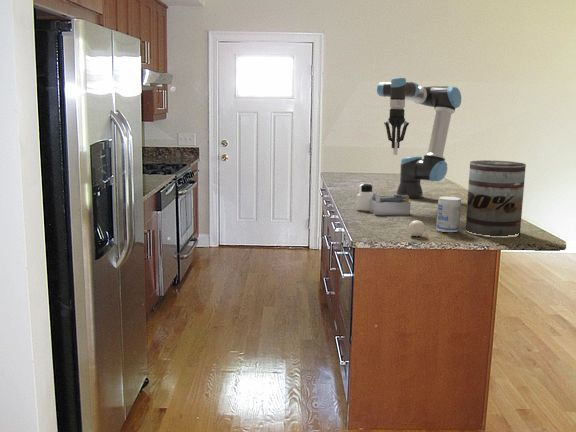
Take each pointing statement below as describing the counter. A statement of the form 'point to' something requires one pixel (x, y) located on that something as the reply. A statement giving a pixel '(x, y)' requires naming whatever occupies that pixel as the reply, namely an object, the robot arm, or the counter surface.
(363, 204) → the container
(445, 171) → the robot arm
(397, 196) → the lid
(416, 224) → the baseball
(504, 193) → the barrel
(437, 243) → the counter surface
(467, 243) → the counter surface
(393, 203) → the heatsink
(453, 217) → the supplement tub
